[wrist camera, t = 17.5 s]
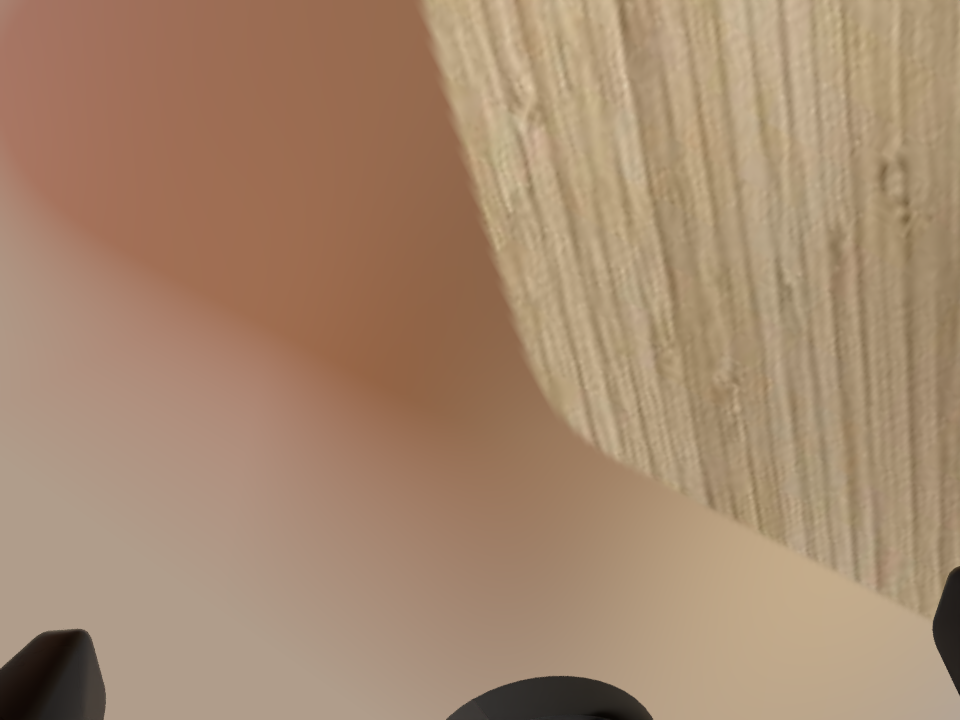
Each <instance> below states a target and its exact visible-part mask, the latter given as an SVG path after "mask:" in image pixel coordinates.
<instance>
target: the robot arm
mask: <svg viewBox="0 0 960 720" xmlns="http://www.w3.org/2000/svg"><path fill="white" fill-rule="evenodd" d="M933 637H934V640H935V644H936V646H937V649H938V651H939V653H940V655H941V657H942V659H943V662H944V664H945V666H946V668H947V670H948V672H949V674H950V676H951V678H952V681H953V683H954V685H955V687H956V689H957V691H958V693H959V695H960V566H959V567H956V568H954V569H953V570H952V571H951V572H950V574H949V576H948V578H947V581H946V584H945V587H944V590H943V593H942V596H941V599H940V602H939V605H938V608H937V611H936V614H935V617H934V620H933ZM105 704H106V693H105V686H104V682H103V679H102V675H101V671H100V668H99V664H98V661H97V657H96V653H95V649H94V646H93V642H92V639H91V637H90V635H89V634H88V632H87V631H85V630H82V629H71V630H57V631H47V632H43V633H41V634H40V635H38V636H37V637H35V638H34V639H33V640H32V641H31V642H30V643H28V644H27V645H26V646H25V647H24V648H23V649H22V650H21V651H20V652H18V654H16V655H15V656H14V657H13V658H12V659H11V660H10V661H9V662H7V663H6V664H5V665H4V666H3V667H2V668H1V669H0V720H103V719H104V713H105ZM591 720H606V719H603V718H595V719H591Z"/></svg>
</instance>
